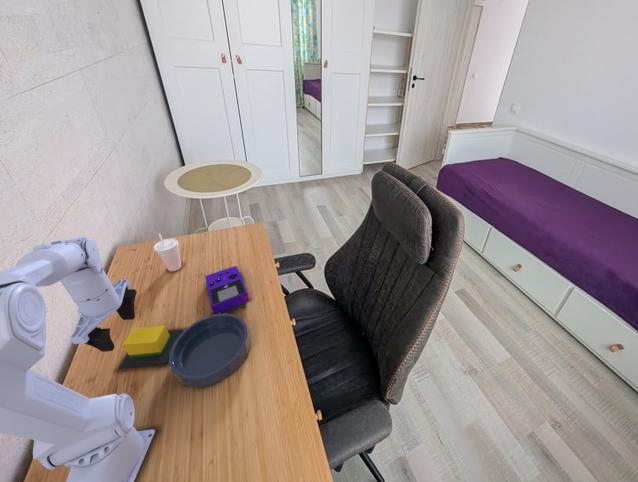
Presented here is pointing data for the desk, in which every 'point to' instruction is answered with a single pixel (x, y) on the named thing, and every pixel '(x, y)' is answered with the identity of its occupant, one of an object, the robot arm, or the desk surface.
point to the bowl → (209, 350)
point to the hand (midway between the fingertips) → (119, 333)
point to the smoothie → (169, 253)
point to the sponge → (147, 341)
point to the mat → (153, 359)
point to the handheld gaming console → (226, 290)
